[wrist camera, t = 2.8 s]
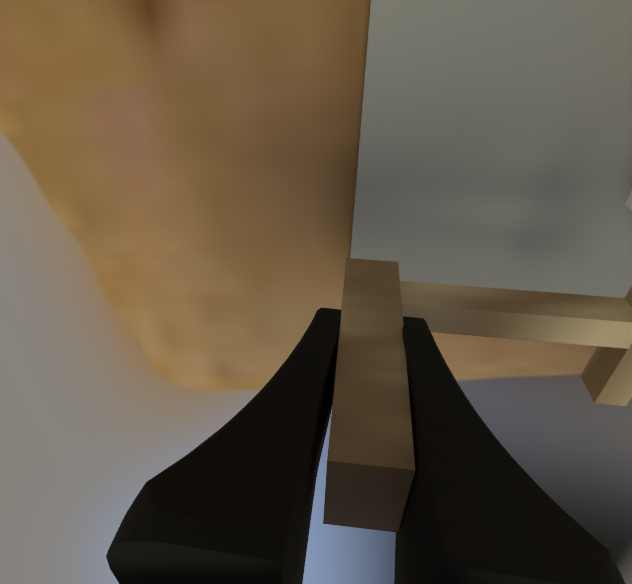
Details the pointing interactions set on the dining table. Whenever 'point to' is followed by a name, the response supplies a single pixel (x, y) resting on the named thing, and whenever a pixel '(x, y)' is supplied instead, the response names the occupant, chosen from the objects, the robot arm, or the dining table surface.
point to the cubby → (498, 144)
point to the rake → (392, 379)
